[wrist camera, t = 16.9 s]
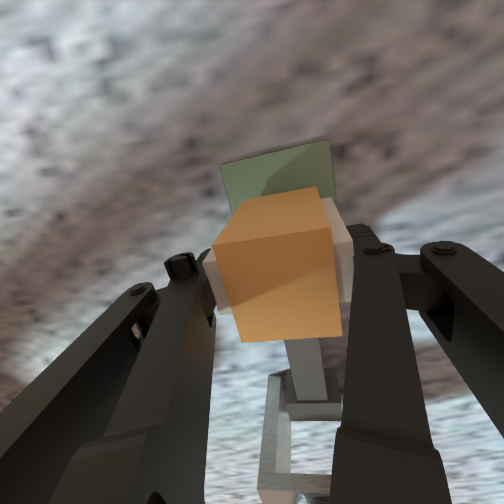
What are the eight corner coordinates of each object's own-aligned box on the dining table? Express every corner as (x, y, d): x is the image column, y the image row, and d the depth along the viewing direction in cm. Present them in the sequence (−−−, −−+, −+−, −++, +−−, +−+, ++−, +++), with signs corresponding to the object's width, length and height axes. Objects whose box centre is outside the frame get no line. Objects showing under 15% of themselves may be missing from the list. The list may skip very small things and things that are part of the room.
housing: (280, 415, 28) (272, 571, 18) (268, 375, 26) (252, 530, 16) (368, 414, 26) (413, 589, 16) (365, 371, 24) (414, 545, 14)
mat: (246, 256, 20) (245, 259, 20) (221, 164, 18) (219, 165, 17) (339, 242, 19) (340, 245, 18) (328, 139, 16) (329, 139, 16)
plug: (287, 386, 23) (285, 482, 17) (243, 199, 16) (211, 245, 10) (340, 385, 22) (358, 487, 16) (316, 185, 15) (331, 227, 9)
